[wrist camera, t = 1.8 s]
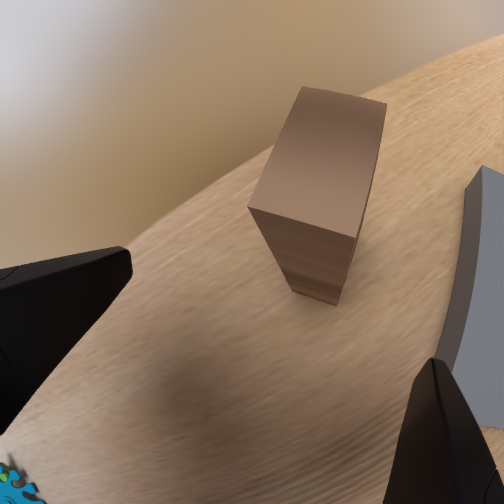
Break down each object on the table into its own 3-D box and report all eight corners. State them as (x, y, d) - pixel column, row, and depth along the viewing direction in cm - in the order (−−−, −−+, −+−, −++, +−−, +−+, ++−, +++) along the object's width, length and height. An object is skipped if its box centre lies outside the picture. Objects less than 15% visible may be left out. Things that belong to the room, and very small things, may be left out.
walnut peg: (336, 306, 18) (355, 237, 7) (292, 291, 19) (247, 206, 8) (359, 235, 19) (387, 103, 8) (317, 222, 20) (301, 86, 9)
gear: (59, 544, 13) (-13, 536, 8) (64, 532, 17) (0, 528, 12) (28, 458, 19) (-40, 451, 13) (38, 458, 23) (-23, 453, 17)
